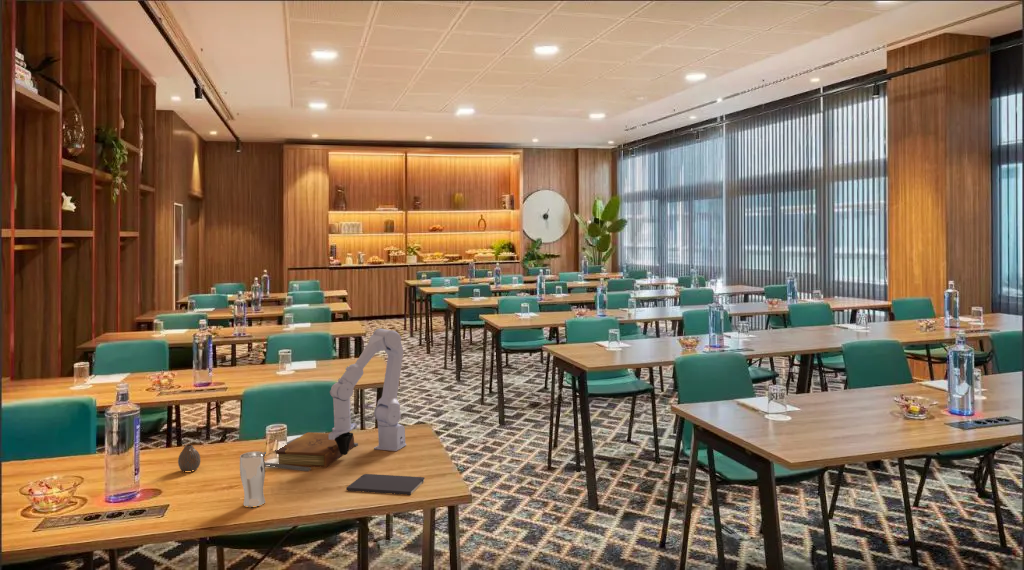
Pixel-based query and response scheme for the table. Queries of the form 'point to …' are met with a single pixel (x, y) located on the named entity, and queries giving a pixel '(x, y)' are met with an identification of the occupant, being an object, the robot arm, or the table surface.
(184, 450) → the grey teardrop shape
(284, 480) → the table surface
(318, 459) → the diary
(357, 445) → the flat grey piece
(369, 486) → the notebook
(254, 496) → the beer glass
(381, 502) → the table surface
